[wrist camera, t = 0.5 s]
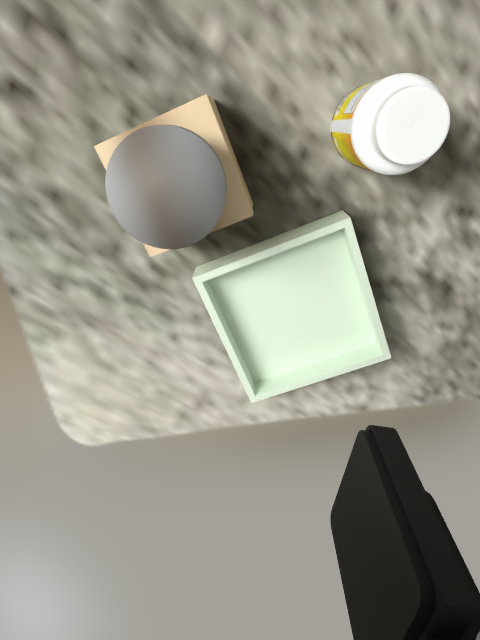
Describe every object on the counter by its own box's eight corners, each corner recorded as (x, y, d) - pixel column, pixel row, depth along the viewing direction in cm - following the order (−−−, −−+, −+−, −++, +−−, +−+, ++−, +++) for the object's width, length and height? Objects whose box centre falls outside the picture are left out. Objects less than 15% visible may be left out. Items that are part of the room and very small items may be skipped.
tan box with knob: (213, 99, 32) (199, 89, 22) (252, 201, 35) (254, 228, 26) (119, 142, 33) (70, 149, 24) (164, 237, 36) (136, 275, 27)
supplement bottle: (392, 168, 33) (447, 186, 24) (322, 160, 33) (351, 175, 24) (411, 88, 31) (481, 74, 22) (337, 79, 31) (375, 60, 22)
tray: (342, 210, 35) (350, 217, 32) (381, 342, 40) (391, 358, 37) (196, 266, 37) (192, 278, 34) (251, 384, 42) (251, 403, 39)
